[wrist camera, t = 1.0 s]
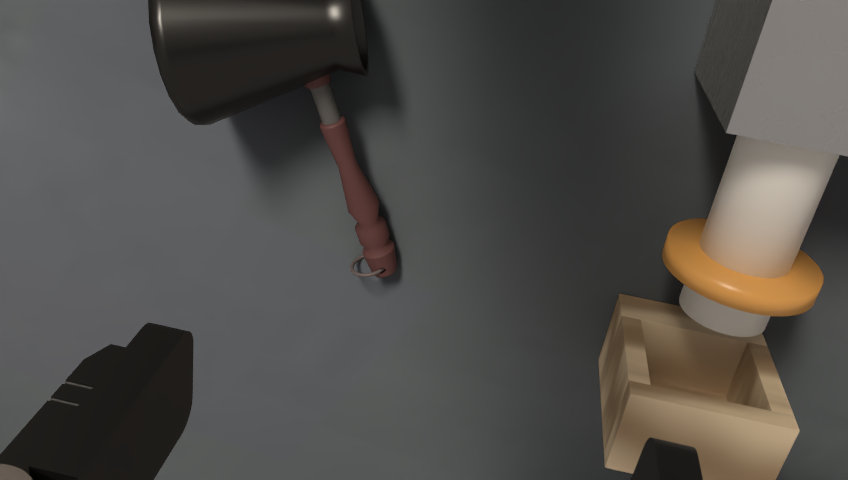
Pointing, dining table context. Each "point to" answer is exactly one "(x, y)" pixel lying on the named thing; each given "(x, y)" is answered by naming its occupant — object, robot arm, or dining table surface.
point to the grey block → (779, 71)
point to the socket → (691, 393)
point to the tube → (752, 240)
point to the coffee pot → (272, 78)
